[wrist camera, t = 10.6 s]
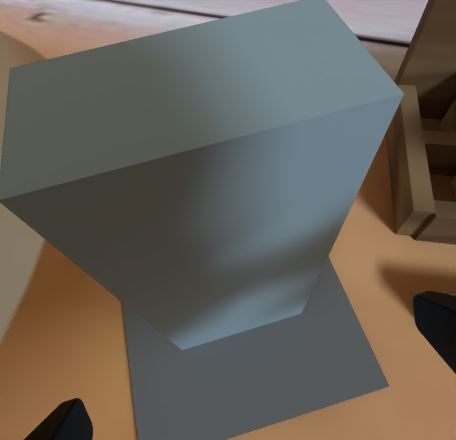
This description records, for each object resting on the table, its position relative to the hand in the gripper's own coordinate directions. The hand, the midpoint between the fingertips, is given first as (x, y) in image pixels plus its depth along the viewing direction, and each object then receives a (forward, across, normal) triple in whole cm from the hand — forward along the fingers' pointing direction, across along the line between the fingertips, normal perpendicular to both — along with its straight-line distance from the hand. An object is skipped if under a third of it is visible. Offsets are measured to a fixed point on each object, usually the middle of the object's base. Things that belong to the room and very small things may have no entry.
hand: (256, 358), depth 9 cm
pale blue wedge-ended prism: (+8, 0, +2) cm, 8 cm away
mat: (+8, 0, +3) cm, 9 cm away
